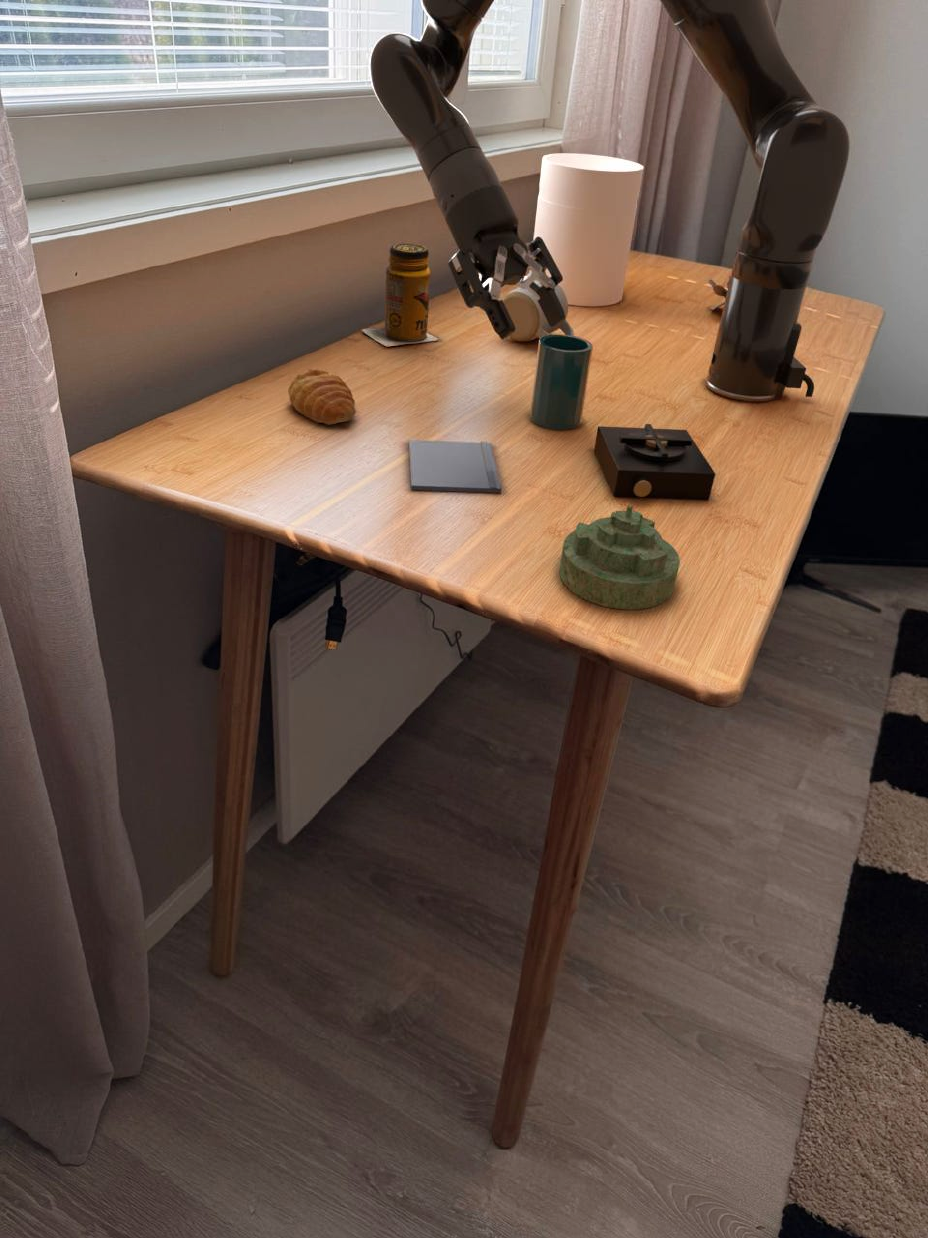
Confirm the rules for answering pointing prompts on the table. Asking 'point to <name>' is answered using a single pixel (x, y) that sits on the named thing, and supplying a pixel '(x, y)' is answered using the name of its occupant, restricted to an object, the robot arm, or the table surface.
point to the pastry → (322, 397)
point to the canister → (588, 223)
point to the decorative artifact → (619, 562)
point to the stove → (653, 463)
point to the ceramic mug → (533, 314)
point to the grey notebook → (453, 466)
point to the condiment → (405, 297)
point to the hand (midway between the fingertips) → (534, 328)
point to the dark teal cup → (560, 381)
